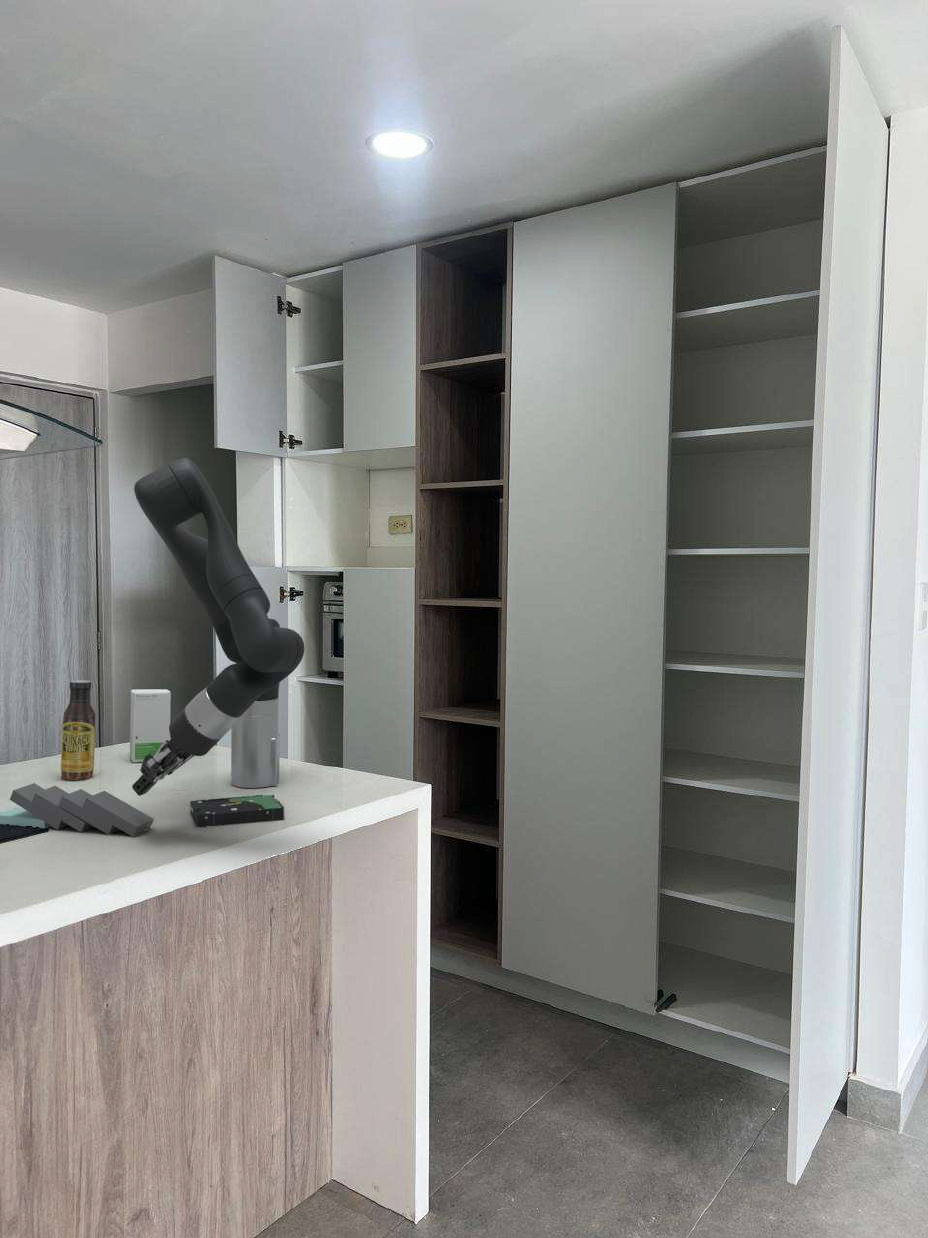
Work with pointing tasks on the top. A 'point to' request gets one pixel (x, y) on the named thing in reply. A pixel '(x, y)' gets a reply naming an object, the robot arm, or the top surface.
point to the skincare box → (148, 722)
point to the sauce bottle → (78, 734)
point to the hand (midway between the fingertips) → (138, 790)
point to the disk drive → (236, 810)
